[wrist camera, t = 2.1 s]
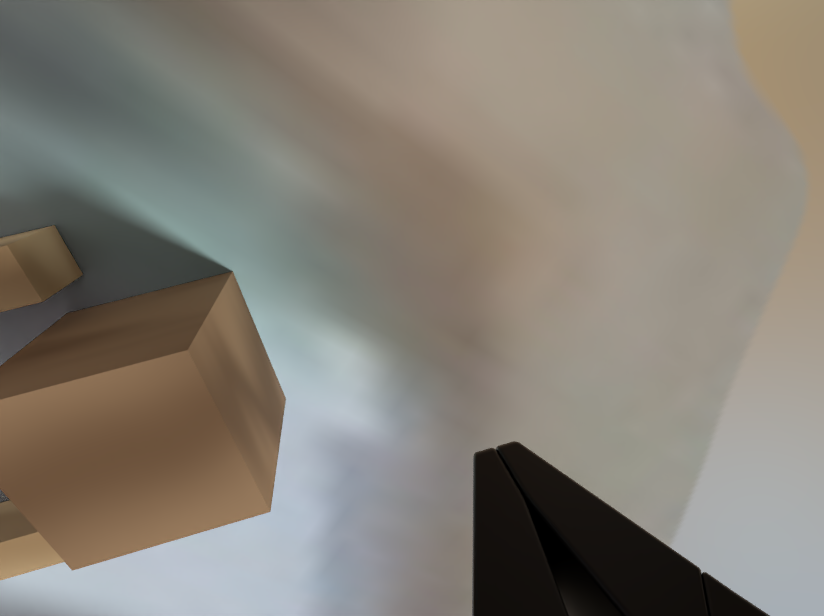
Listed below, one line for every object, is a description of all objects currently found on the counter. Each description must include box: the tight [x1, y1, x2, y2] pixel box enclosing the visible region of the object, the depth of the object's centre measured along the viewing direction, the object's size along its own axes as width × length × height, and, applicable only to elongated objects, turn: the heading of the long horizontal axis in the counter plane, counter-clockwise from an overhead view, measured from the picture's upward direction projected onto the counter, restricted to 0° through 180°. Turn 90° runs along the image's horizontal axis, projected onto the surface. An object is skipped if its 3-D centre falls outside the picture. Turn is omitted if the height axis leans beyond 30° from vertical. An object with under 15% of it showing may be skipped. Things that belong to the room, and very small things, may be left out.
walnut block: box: [0, 271, 286, 570], centre depth 12 cm, size 5×5×5 cm
